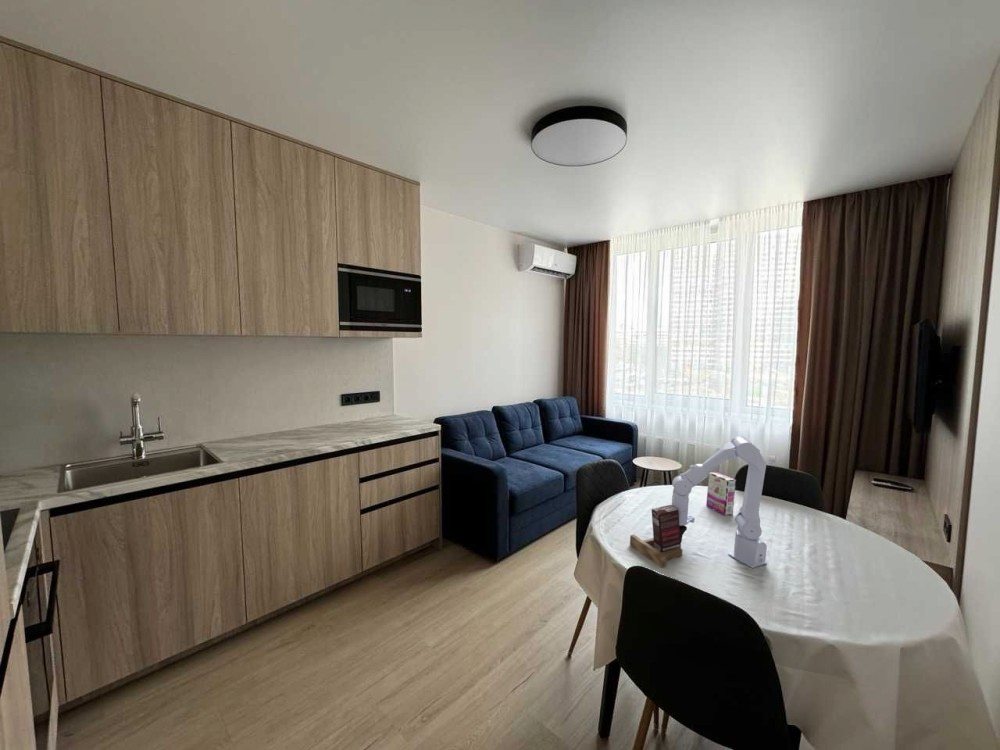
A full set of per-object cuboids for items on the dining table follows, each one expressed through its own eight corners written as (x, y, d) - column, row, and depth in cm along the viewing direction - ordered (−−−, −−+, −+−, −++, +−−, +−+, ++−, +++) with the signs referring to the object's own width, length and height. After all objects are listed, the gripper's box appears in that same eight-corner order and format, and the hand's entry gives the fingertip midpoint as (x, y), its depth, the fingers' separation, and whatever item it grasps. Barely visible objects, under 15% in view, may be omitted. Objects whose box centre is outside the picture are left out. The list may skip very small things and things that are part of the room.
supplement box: (673, 542, 157) (671, 503, 154) (681, 549, 152) (679, 509, 150) (653, 548, 155) (650, 508, 152) (660, 554, 150) (658, 514, 148)
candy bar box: (733, 514, 185) (736, 479, 183) (724, 516, 183) (728, 480, 182) (714, 504, 196) (716, 471, 194) (705, 505, 194) (708, 472, 192)
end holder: (688, 559, 147) (689, 549, 147) (662, 567, 142) (662, 556, 141) (654, 538, 161) (655, 529, 161) (629, 545, 156) (630, 535, 156)
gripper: (685, 501, 160) (682, 534, 162) (657, 507, 155) (654, 541, 156) (700, 508, 154) (697, 543, 156) (671, 515, 148) (668, 550, 150)
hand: (676, 542), depth 155 cm, fingers closed, pressing on supplement box
